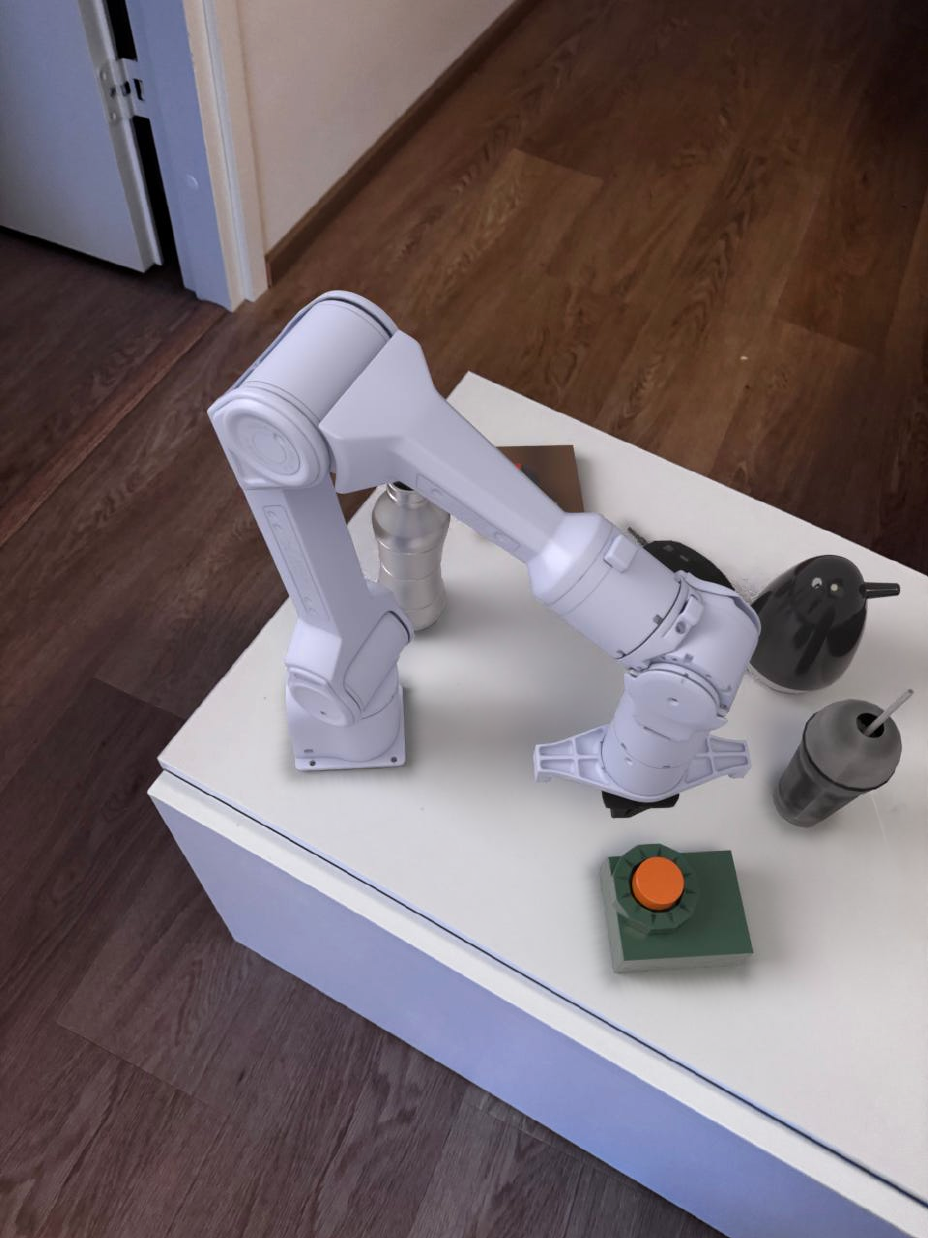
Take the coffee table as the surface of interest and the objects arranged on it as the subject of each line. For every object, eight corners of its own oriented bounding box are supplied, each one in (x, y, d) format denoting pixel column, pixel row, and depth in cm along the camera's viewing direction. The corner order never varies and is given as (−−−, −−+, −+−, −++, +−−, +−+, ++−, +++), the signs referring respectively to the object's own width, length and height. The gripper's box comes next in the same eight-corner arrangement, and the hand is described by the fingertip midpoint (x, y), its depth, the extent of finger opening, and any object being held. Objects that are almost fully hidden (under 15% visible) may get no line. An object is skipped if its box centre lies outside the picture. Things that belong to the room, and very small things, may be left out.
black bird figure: (838, 719, 89) (910, 633, 76) (724, 697, 90) (777, 608, 77) (837, 627, 94) (904, 532, 81) (730, 606, 95) (780, 509, 82)
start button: (635, 911, 73) (640, 905, 72) (628, 865, 75) (632, 857, 74) (682, 909, 73) (688, 902, 72) (674, 862, 75) (679, 855, 74)
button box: (610, 973, 76) (624, 955, 71) (595, 870, 80) (608, 846, 75) (738, 965, 77) (761, 947, 72) (716, 863, 81) (736, 839, 76)
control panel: (474, 552, 97) (475, 540, 95) (465, 459, 103) (466, 445, 102) (586, 549, 98) (589, 536, 96) (570, 457, 104) (573, 443, 102)
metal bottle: (367, 592, 94) (357, 453, 77) (434, 577, 95) (439, 436, 78) (384, 647, 91) (378, 515, 74) (453, 631, 92) (463, 496, 75)
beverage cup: (742, 778, 85) (824, 668, 68) (813, 753, 87) (910, 638, 70) (784, 854, 82) (882, 758, 65) (857, 826, 83) (971, 725, 66)
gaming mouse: (652, 516, 100) (660, 492, 97) (748, 619, 94) (761, 596, 91) (604, 542, 98) (611, 518, 95) (699, 649, 92) (710, 627, 89)
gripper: (757, 670, 64) (704, 754, 76) (539, 673, 63) (519, 758, 75) (780, 769, 60) (720, 842, 72) (549, 774, 60) (526, 847, 71)
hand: (618, 805), depth 73 cm, fingers closed
